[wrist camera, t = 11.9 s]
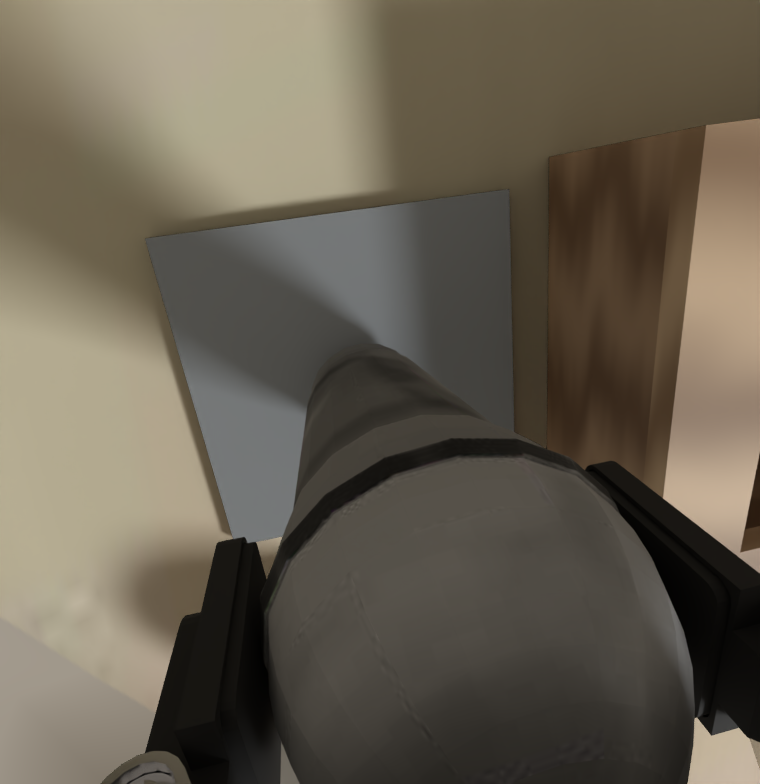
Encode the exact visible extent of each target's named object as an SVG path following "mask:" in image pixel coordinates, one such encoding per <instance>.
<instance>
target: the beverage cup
mask: <svg viewBox="0 0 760 784" xmlns="http://www.w3.org/2000/svg"><path fill="white" fill-rule="evenodd" d="M260 642H261V651H262V658H263V662H264V665H265V667H266V669H267V671H268V682H269V697H270V702H271V707H272V711H273V716H274V721H275V726H276V729H277V732H278V734H279V737H280V740H281V742H282V745H283V747H284V750H285V752H286V755H287V757H288V760H289V762H290V765H291V767H292V769H293V771H294V773H295V775H296V777H297V779H298V781H299V783H300V784H687V782H688V776H689V770H690V763H691V756H692V749H693V738H694V715H695V703H694V685H693V667H692V663H691V659H690V655H689V651H688V647H687V642H686V638H685V634H684V630H683V628H682V625H681V623H680V621H679V618H678V616H677V614H676V611H675V609H674V607H673V604H672V602H671V600H670V598H669V595H668V593H667V591H666V589H665V586H664V584H663V582H662V580H661V578H660V575H659V573H658V571H657V569H656V566H655V564H654V562H653V560H652V557H651V556H650V554H649V553H648V551H647V550H646V548H645V546H644V545H643V543H642V542H641V540H640V539H639V537H638V536H637V534H636V533H635V531H634V529H633V528H632V527H631V526H630V525H629V524H628V523H627V522H626V521H625V520H624V518H623V517H622V516H621V515H620V513H619V510H618V508H617V506H616V504H615V502H614V501H613V499H612V497H611V496H610V494H609V492H608V491H607V489H606V488H605V487H603V486H602V485H601V484H600V483H599V482H598V481H597V480H595V479H594V478H593V477H592V476H591V475H590V474H588V473H587V472H586V471H585V470H584V469H583V468H582V467H580V466H579V465H578V464H577V463H576V462H575V461H574V460H572V459H571V458H570V457H568V456H565V455H562V454H559V453H557V452H554V451H551V450H548V449H545V448H543V447H542V446H541V445H539V444H537V443H535V442H533V441H531V440H529V439H527V438H525V437H523V436H521V435H519V434H517V433H515V432H513V431H511V430H509V429H506V428H503V427H500V426H497V425H495V424H493V423H491V422H490V421H489V420H487V419H486V418H485V417H484V416H482V415H481V414H480V413H478V412H477V411H476V410H475V409H473V408H472V407H471V406H469V405H468V404H467V403H466V402H464V401H463V400H462V399H460V398H459V397H458V396H457V395H455V394H454V393H453V392H451V391H450V390H449V389H447V388H446V387H445V386H444V385H442V384H441V383H440V382H438V381H437V380H436V379H435V378H433V377H432V376H431V375H429V374H428V373H427V372H426V371H424V370H423V369H422V368H420V367H419V366H418V365H417V364H415V363H414V362H413V361H411V360H410V359H409V358H408V357H406V356H403V355H400V354H399V353H398V352H397V351H396V350H393V349H391V348H388V347H385V346H383V345H380V344H363V343H361V344H358V345H354V346H350V347H347V348H344V349H342V350H341V351H339V352H338V353H336V354H334V355H333V356H331V357H330V358H329V359H328V360H327V361H326V362H325V363H324V365H323V366H322V367H321V368H320V369H319V371H318V373H317V375H316V378H315V380H314V383H313V385H312V392H311V394H310V397H309V400H308V405H307V413H306V420H305V427H304V435H303V442H302V449H301V456H300V464H299V471H298V478H297V486H296V493H295V500H294V507H293V512H292V514H291V516H290V519H289V521H288V524H287V526H286V528H285V531H284V534H283V537H282V540H281V543H280V546H279V549H278V552H277V555H276V558H275V561H274V563H273V566H272V568H271V571H270V573H269V575H268V578H267V580H266V583H265V585H264V587H263V590H262V592H261V595H260Z"/></svg>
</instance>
